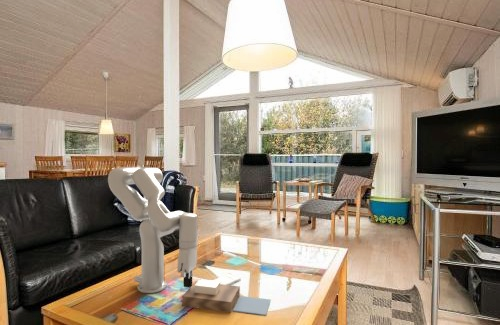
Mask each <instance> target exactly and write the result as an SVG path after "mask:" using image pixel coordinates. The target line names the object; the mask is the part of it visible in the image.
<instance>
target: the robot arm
mask: <svg viewBox="0 0 500 325" xmlns="http://www.w3.org/2000/svg"><path fill="white" fill-rule="evenodd" d="M163 180H164V175H163V172H162V171H161V169H159V168H158V167H154V166H153V167H149V166H123V167H120V166H119V167H115V168H114V169H112V170H110V171H109V174H108V177H107V182H108V186H109V189H110V192H112V194H113V195H114V197H116V199H118V200H119V201H120V202H121V204H122V205H123V207H124V208H125V209H126V211H127V212H128V213H129V215H130V216H131V217H132V218H133V219H134V221H136V222H141V223H140V225H139V229H138V230H139V235H140V236H139V237H140V241H141V272H140V273H141V275H135V276H134V279H133V281H134V283H138V285H137V291H139V292H140V293H143V294H155V293H158V292H162V291H164V290H165V289H166V288H167V287H168V283H167V282H168V281H166V279H165V280H164V273H165V271H164V266H165V261H164V260H165V257H164V256H165V252H164V251H165V250H164V249H165V247H164V243H163V242H162V240H161V238H162V237H164V236H167V235H170V234H173V233H174V231H176V230H178V229H179V232H178V234H179V238H178V240H179V241H178V243H179V244H178V248H179V250H178V255H177V256H178V257H177V273H181V274H180V275H181V276H180V277H181V278H183V288H188V289H189V288H190V287H191V286H192V285H193V275H194V274H193V273H194V270H195V269H194V268H196V267H197V262H198V251H197V248H198V238H199V236H198V228H199V227H198V226H199V225H198V223H199V220H198V215H197V213H194V212H193V213H192V212H185V211H184V210H183V211H182V210H175V211H170V210H169V209H168V208H167V207H166V205H165V204H164V203H163V202H162V201H161V200H162V199H163V197H164V196H165V195H166V194H165V193H166V191H165V189H164V187H163V186H162V185H161V184H162V182H163ZM130 185H135V186H136V187H137V188H138V190H139V191H140V192H141V194H142V195H143V196H144V197H143V196H142V195H141V194H140V193H139V191H138V190H136V189H135V188H133V187H131V186H130Z"/></svg>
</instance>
